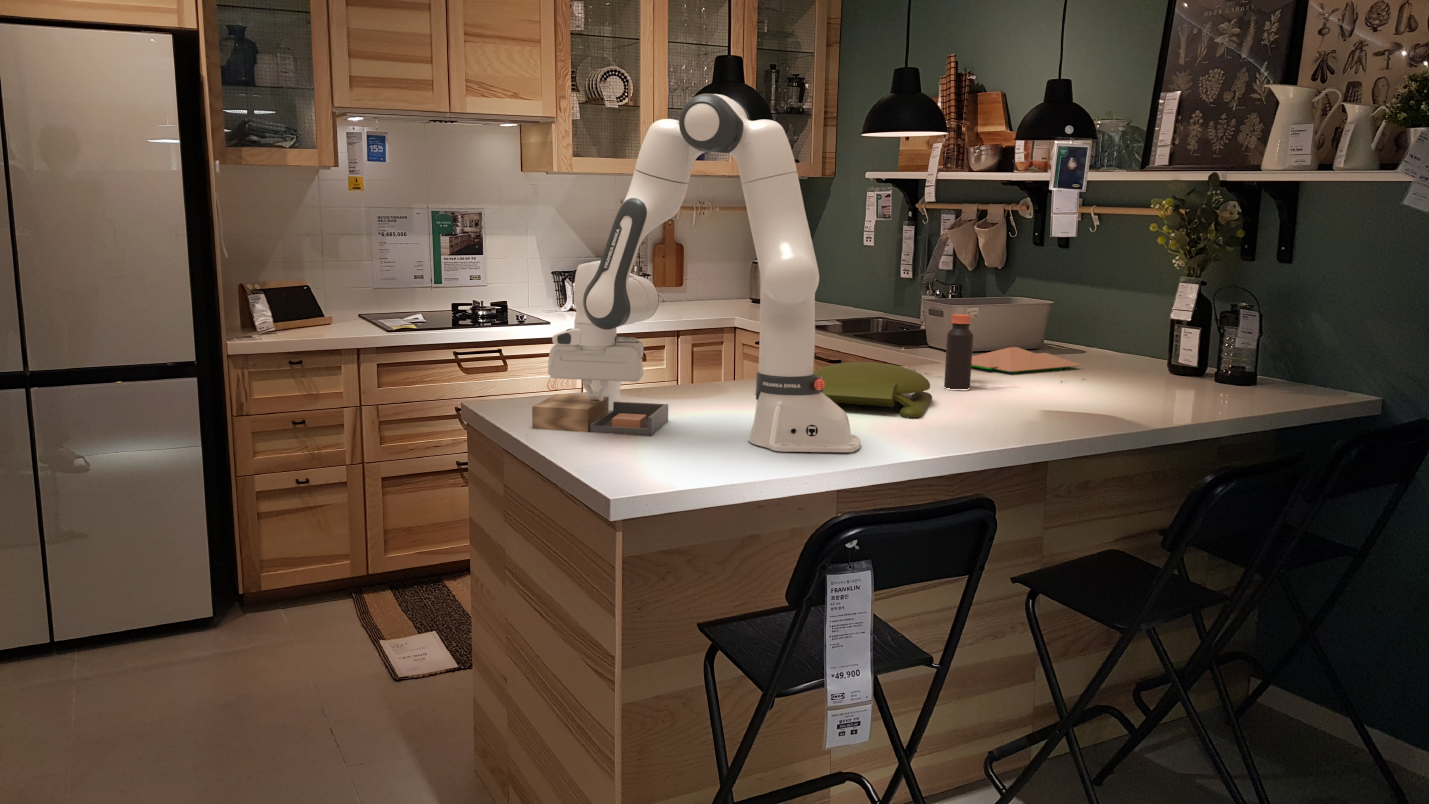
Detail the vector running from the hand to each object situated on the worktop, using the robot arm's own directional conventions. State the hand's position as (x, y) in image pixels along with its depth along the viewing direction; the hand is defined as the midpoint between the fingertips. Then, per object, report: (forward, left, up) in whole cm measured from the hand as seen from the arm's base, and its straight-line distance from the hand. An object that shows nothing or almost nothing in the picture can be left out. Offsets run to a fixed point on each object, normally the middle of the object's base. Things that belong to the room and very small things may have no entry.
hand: (595, 400), depth 230 cm
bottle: (-79, -73, -6) cm, 108 cm away
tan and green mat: (-97, -111, -6) cm, 148 cm away
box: (-8, 0, -5) cm, 9 cm away
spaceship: (-56, -46, -6) cm, 73 cm away
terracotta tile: (-7, 0, -3) cm, 8 cm away
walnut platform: (+5, 0, -5) cm, 8 cm away
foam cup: (+3, -16, -6) cm, 17 cm away
